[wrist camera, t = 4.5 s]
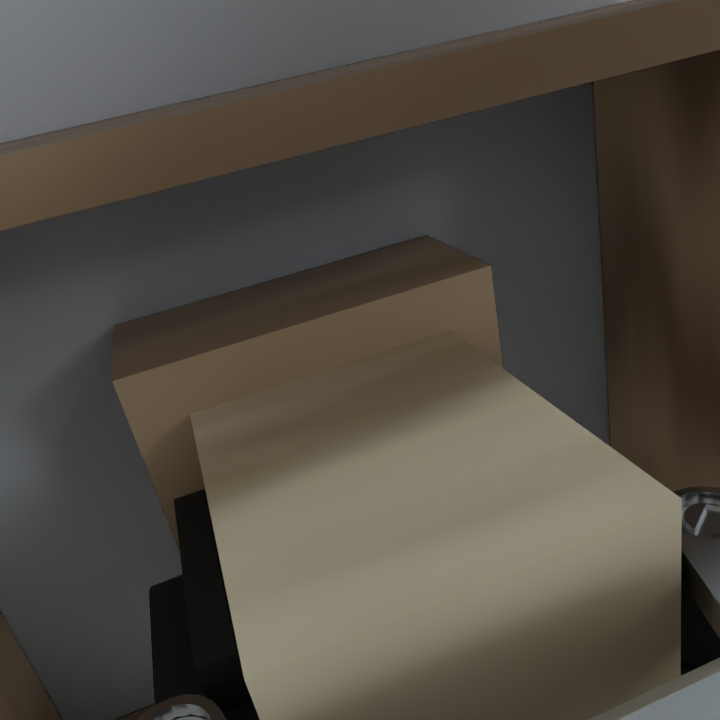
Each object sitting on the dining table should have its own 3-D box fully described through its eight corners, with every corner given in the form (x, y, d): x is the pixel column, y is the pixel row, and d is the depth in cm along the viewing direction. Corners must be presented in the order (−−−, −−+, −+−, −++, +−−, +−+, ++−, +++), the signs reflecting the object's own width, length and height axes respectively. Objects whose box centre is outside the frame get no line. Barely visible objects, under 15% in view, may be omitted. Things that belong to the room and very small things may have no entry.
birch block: (189, 414, 12) (244, 679, 6) (449, 329, 13) (682, 498, 7) (263, 622, 14) (349, 952, 9) (481, 535, 15) (680, 781, 10)
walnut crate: (-292, 209, 11) (-568, 286, 7) (621, 2, 15) (835, -36, 10) (52, 771, 17) (27, 1006, 13) (636, 527, 21) (775, 644, 16)
